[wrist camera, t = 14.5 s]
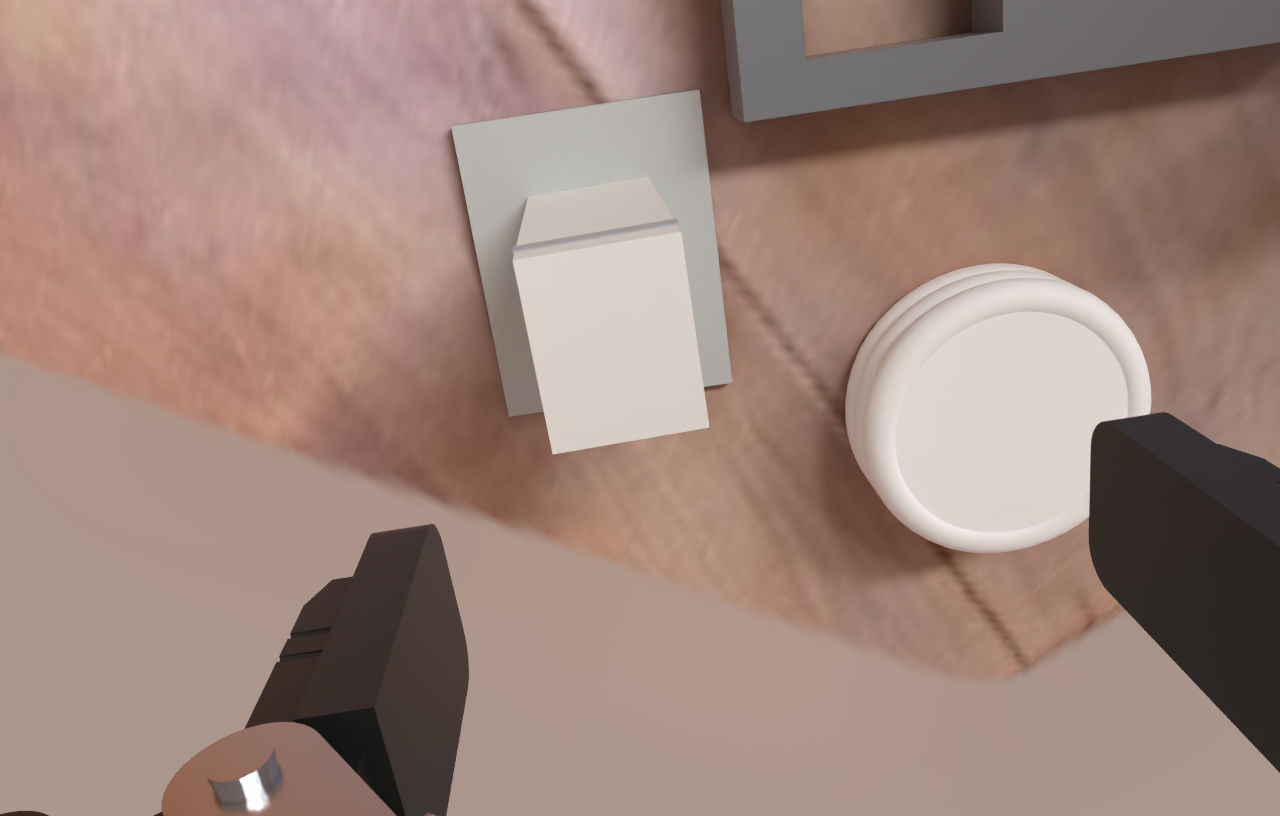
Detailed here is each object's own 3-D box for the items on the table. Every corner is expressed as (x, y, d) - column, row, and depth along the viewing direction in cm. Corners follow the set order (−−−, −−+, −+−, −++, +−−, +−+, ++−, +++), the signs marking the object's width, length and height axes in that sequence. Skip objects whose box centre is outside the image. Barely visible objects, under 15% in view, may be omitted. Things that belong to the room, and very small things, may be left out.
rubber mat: (697, 89, 32) (699, 89, 32) (730, 379, 36) (732, 382, 35) (452, 126, 32) (450, 126, 32) (509, 413, 36) (508, 417, 35)
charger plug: (649, 174, 33) (682, 229, 23) (672, 323, 34) (711, 428, 25) (526, 196, 33) (510, 258, 23) (555, 343, 34) (550, 456, 25)
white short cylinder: (802, 329, 36) (827, 358, 32) (1067, 214, 35) (1120, 232, 32) (889, 553, 39) (919, 601, 36) (1133, 453, 38) (1186, 492, 35)
